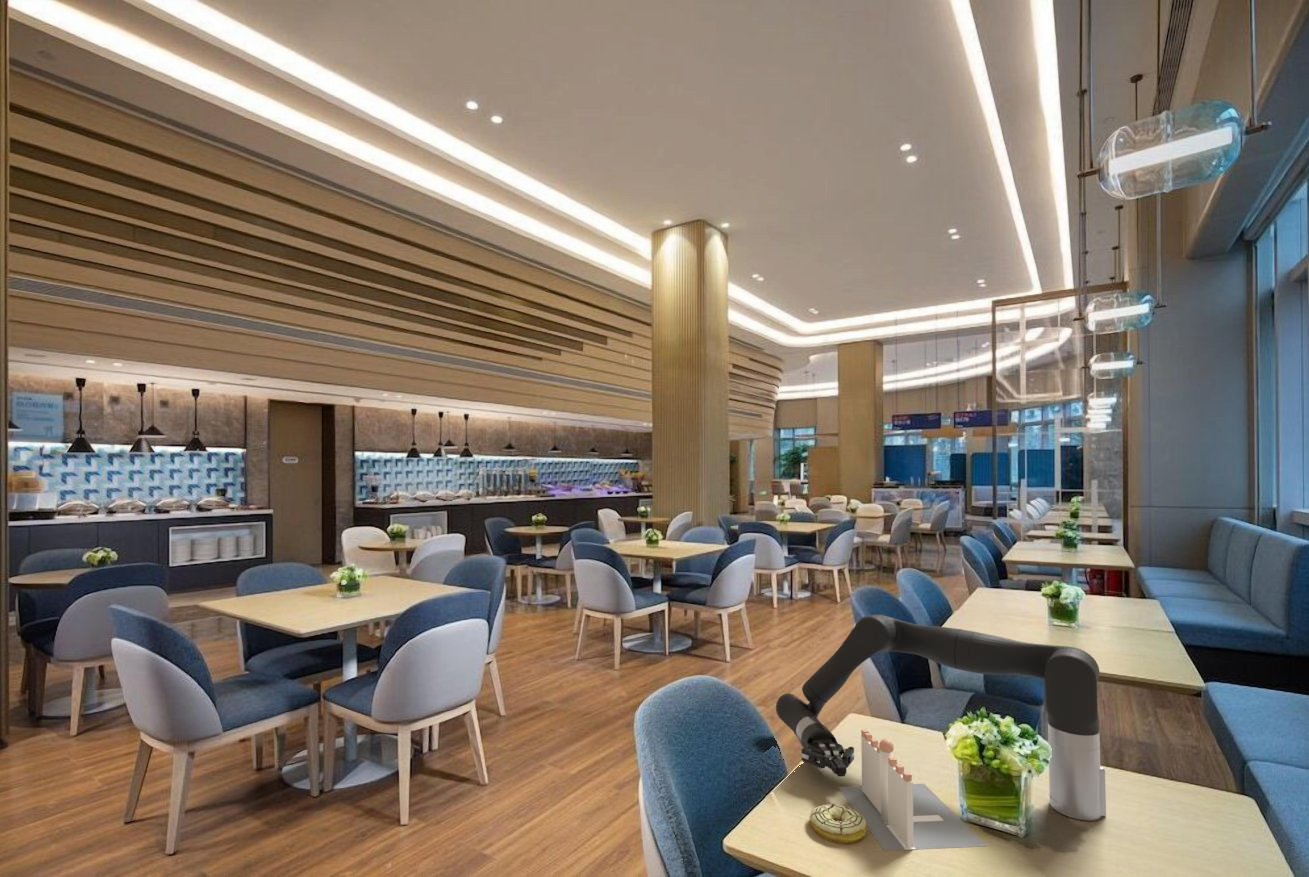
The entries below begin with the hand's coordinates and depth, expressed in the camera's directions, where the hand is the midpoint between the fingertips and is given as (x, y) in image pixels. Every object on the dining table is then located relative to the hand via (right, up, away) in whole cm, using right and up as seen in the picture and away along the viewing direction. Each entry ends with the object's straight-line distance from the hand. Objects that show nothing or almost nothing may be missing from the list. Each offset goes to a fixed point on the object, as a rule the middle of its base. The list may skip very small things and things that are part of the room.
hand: (842, 771), depth 140 cm
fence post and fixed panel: (+7, -5, -12) cm, 15 cm away
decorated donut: (-4, -7, -11) cm, 14 cm away
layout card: (+12, -6, -6) cm, 14 cm away
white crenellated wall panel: (+6, -5, -2) cm, 9 cm away
